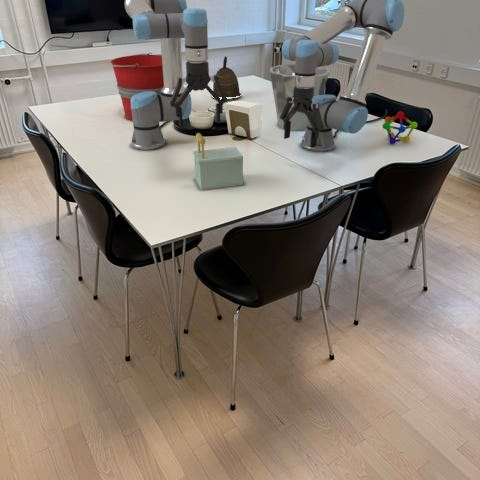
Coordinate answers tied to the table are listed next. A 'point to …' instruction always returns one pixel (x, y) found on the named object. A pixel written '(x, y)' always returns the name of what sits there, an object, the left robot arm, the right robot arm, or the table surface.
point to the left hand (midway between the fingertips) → (199, 124)
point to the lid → (215, 153)
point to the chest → (219, 173)
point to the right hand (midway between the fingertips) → (299, 142)
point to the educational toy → (398, 128)
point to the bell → (227, 81)
